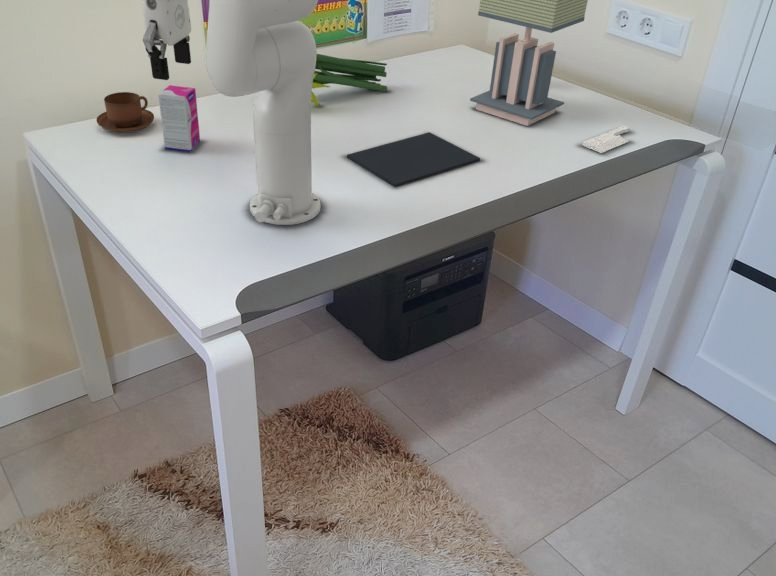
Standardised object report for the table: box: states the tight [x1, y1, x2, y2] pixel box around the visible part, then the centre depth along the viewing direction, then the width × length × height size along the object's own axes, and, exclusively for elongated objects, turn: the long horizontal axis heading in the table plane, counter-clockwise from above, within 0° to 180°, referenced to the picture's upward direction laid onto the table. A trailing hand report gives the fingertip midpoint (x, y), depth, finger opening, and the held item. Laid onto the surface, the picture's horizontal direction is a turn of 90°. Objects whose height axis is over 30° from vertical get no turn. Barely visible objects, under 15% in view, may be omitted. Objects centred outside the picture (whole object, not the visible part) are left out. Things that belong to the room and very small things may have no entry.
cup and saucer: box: [96, 91, 155, 133], centre depth 155 cm, size 12×12×6 cm
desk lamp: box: [469, 0, 589, 127], centre depth 160 cm, size 18×14×33 cm
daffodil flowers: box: [311, 53, 388, 107], centre depth 169 cm, size 17×15×35 cm
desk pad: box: [346, 131, 481, 188], centre depth 147 cm, size 22×16×1 cm
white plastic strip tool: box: [581, 125, 630, 154], centre depth 157 cm, size 5×15×1 cm, turn 129°
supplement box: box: [157, 84, 201, 153], centre depth 146 cm, size 6×6×12 cm
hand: (172, 70), depth 140 cm, fingers open, 9 cm apart
